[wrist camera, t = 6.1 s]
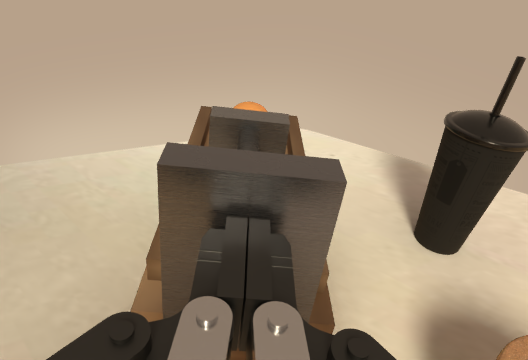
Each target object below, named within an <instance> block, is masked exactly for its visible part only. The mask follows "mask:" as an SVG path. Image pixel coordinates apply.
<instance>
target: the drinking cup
mask: <svg viewBox="0 0 528 360" xmlns="http://www.w3.org/2000/svg"><path fill="white" fill-rule="evenodd" d="M525 59H526V58H524V57H519V56H517V58H516V60H515V62H514V64H513V67H512V69H511V71H510V73H509V75H508V77H507V80H506V82H505V84H504V86H503V88H502V90H501V93H500V95H499V97H498V99H497V102H496V103H495V106H494V108H493V110H492V112H490V111H483V110H468V111H456V112H451V113H449V114H447V115H446V117H445V119H444V124H445V129H444V133H443V136H442V139H441V143H440V146H439V149H438V153H437V156H436V160H435V163H434V167H433V170H432V173H431V177H430V180H429V184H428V187H427V190H426V194H425V197H424V201H423V204H422V207H421V211H420V214H419V218H418V221H417V224H416V228H415V231H414V235H415V238H416V239H417V241H418V242H419V243H420V244H421V245H422V246H424V247H425V248H427V249H429V250H431V251H433V252H436V253H439V254H445V255H450V254H454V253H456V252H458V250H459V249H460V248H461V246H462V245H463V243H464V242H465V240H466V239H467V237H468V236H469V234H470V233H471V231H472V230H473V228H474V227H475V225H476V224H477V222H478V221H479V220H480V218H481V217H482V215H483V214H484V212H485V211H486V209H487V208H488V206H489V205H490V203H491V202H492V200H493V199H494V197H495V196H496V195H497V193H498V192H499V190H500V189H501V187H502V186H503V184H504V183H505V181H506V180H507V178H508V177H509V175H510V174H511V172H512V171H513V170H514V168H515V167H516V165H517V164H518V162H519V161H520V159H521V157H522V156H523V155H524V153H525V152H526V151H528V132H527V131H526V130H525V129H523V128H522V127H521V126H520V125H519V124H518V123H516V122H515V121H513V120H512V119H510V118H508V117H506V116H503V115H501V114H500V112H501V110H502V108H503V106H504V104H505V102H506V100H507V98H508V96H509V93H510V91H511V89H512V87H513V85H514V83H515V81H516V79H517V76H518V74H519V72H520V70H521V68H522V66H523V64H524V62H525Z"/></svg>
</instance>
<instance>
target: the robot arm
mask: <svg viewBox="0 0 528 360" xmlns="http://www.w3.org/2000/svg"><path fill="white" fill-rule="evenodd" d="M247 219H248V217H246V216H234V215H227V218H226V226H225V230H224V229H213V228H210V229H209V230H208V231H207V232H206V234H205V235H204V236H203V237H202V240H201V245H200V250H199V255H198V261H197V265H196V270H195V275H194V280H193V285H192V290H191V295H190V299H189V301H188V303H187V305H186V306H185V307H184V308H183V309H182V310H181V311H180V312H179V313H177V314H175V315H174V316H171V317H169V318H165V319H161V320H157V321H152V322H148V320H147V319H146V318H145V317H144V316H142V315H140V314H138V313H135V312H121V313H117V314H114V315H112V316H110V317H108V318H106V319H105V320H103V321H102V322H100V323H99V324H97V325H96V326H95V327H93V328H92V329H90V330H89V331H87V332H86V333H84V334H83V335H81V336H80V337H79V338H77V339H76V340H74V341H73V342H71V343H70V344H68V345H67V346H65V347H64V348H62V349H61V350H60V351H58V352H57V353H55V354H54V355H52V356H51V357H49V358H48V359H46V360H230V358H231V351H237V345H238V337H239V329H240V340H239V351H246V360H396V359H395V358H394V357H393V356H392V355H391V354H390V353H389V352H388V351H387V350H386V349H384V348H383V347H382V346H381V345H380V344H379V343H378V342H377V341H376V340H375V339H374V338H372V337H371V336H370V335H368V334H367V333H365V332H363V331H360V330H357V329H344V330H341V331H339V332H338V333H336V334H335V335H332V334H329V333H327V332H324V331H321V330H319V329H316V328H314V327H313V326H311V325H310V324H308V323H307V322H306V321H305V320H304V319H303V318H302V317H301V315H300V313H299V312H298V309H297V305H296V295H295V284H294V274H293V263H292V253H291V245H290V243H289V242H288V240H287V239H286V237H285V236H284V235H283V234H271V231H270V219H269V218H258V217H249V222H248V230H247Z"/></svg>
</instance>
